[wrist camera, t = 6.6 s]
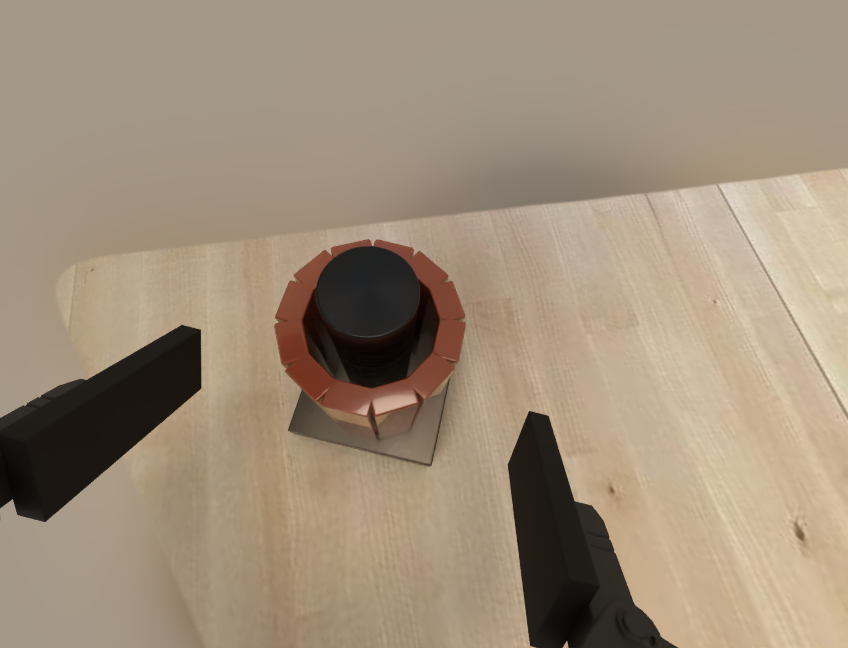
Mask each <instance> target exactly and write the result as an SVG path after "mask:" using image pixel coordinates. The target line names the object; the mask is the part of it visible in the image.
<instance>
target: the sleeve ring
mask: <svg viewBox="0 0 848 648" xmlns="http://www.w3.org/2000/svg"><path fill="white" fill-rule="evenodd" d="M361 246H372V243H371V241H370V240H363V241H359V242H354V243H349V244H345V245H340V246H335V247H332V248H331V253H332V255H330V254H329V253H328V252H327V251H326V250H324V251H323V252H322V253H320V254H319V255H318V256H317V257H315V258H314V259H313V260H312V261H310V262H309V263H308V264H307V265H305V266H304V267H303V268H302V269H300V270H299V271H298V272H297V273H295V274H294V278H295V280H296V282H295V281H289V283H288V286H287V288H286V291H285V293H284V296H283V298H282V301H281V303H280V306H279V308H278V311H277V313H276V316H275V319H276V320H277V321H278V323H277V324H275V325H274V328H275V333H276V338H277V344H278V349H279V354H280V359H281V364H282V365H283V366H284V367H285V368H286V370H285V372H286V373H287V374H288V375H289V376H290V377H291V378H292V379H293V380H294V381H295V382H296V383H297V385H298V386H299V387H300V388H301V389H302V390H303V391H304V392H305V393H306V394H307V395H308V396H309V397H310V398H311V399H312V400H313V401H314V402H315V403H316V404H317V405H318V406H319V407H320V408H321V409H322V410H323V411H324V412H325V413H326V414H327V415H328V416H329V417H330V418H331V419H332V420H333V421H334V422H335V423H336V424H337V425H338V426H339V427H340V428H342V429H343V430H344V431H347V432H348V433H349V434H352V435H356V436H360V437H364V438H368V439H372V440H377V437H378V434H379V436H380V439H381V440H384V439H387V438H390V437H393V436H397V435H400V434H403V433H406V432H408V431H409V428H411V429H413V428H414V427H415V426H416V425H417V424H418V423H419V422H420V421H421V420H422V419H423V417H424V416H425V415H426V414H427V413H428V412H429V411H430V410H431V408H432V407H433V405H434V403H435V402H436V400H437V398H438V397H439V395H440V393H441V391H442V390H443V388H444V386H445V385H446V383H447V381H448V380H449V378H450V376H451V374H452V373H453V371H454V369H455V367H456V365H457V363H458V361H459V357H460V352H461V347H462V342H463V337H464V332H465V327H466V323H465V322H463V321H464V319H465V314H464V311H463V308H462V306H461V303H460V300H459V297H458V295H457V292H456V289H455V286H454V284H453V282H452V281H449V282H447V280H448V277H449V276H448V275H447V274H446V273H445V272H444V271H443V270H441V269H440V268H439V267H438V266H437V265H436V264H434V263H433V262H432V261H431V260H430V259H429V258H427V257H426V256H425V255H424V254H423V253H422V252H420V251H419V252H418V253H417V254H415V255H414V249H413V248H411V247H406V246H402V245H398V244H394V243H390V242H386V241H382V240H376V241H375V243H374V246H376V247H381V248H385V249H388V250H390V251H393V252H395V253H396V254H398V255H400V256H401V257H402V258H403V259H405V260H406V261H407V262H408V263H409V265H410V266H411V267H412V268H413V270H414V272H415V273H416V276H417V278H418V281H419V285H420V300H419V307H418V313H417V319H416V325H415V332H414V338H413V344H412V350H411V352H412V353H413V354H414V355H415V356H416V358H417V362H418V365H419V366H418V367H417V368H416V369H415V370H414V371H413V372H412V373H411V374H410V375H409V376H408V377H407V378H405V379H401V380H398V381H394V382H391V383H387V384H384V385H380V386H377V387H373V388H370V387H366V386H362V385H357V384H353V383H349V382H345V381H341V380H337V379H335V376H336V373H337V370H338V367H339V364H340V358H339V356H338V354H337V351H336V349H335V347H334V345H333V342H332V340H331V338H330V335H329V333H328V331H327V328H326V326H325V324H324V321H323V319H322V317H321V315H320V312H319V310H318V307H317V304H316V285H317V281H318V278H319V276H320V274H321V272H322V271H323V269H324V267H325V266H326V265H327V264H328V263H329V262H330V261H331V260H332V259H333V258H334V257H336V256H337V255H338V254H340V253H342V252H344V251H346V250H349V249H352V248H356V247H361Z"/></svg>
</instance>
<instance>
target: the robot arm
mask: <svg viewBox="0 0 848 648" xmlns="http://www.w3.org/2000/svg"><path fill="white" fill-rule="evenodd" d="M200 389H201V330H200V329H196V328H192V327H188V326H184V325H181V326H179V327H178V328H176V329H174V330H172V331H171V332H169V333H167V334H166V335H164V336H162V337H160V338H159V339H157V340H155V341H153V342H152V343H150V344H148V345H146V346H145V347H143V348H141V349H140V350H138V351H136V352H134V353H133V354H131V355H129V356H127V357H126V358H124V359H122V360H121V361H119V362H117V363H115V364H114V365H112V366H110V367H108V368H107V369H105V370H103V371H102V372H100V373H98V374H96V375H95V376H93V377H91V378H89V379H88V380H84V379H79V380H75V381H72V382H69V383H66V384H63V385H60V386H57V387H56V388H54V389H52V390H50V391H48V392H47V393H45V394H43V395H42V396H41V397H40V398H39V397H38V398H36V399H34V400H32V401H30V402H29V403H27V405H26V406H22V407H20V408H18V409H16V410H14V411H12V412H11V413H9V414H7V415H5V416H3V417H2V418H0V508H1V507H3V506H4V505H5V504H7V503H8V502H9V501H11V500H12V499H13V500H14V504H15V508H16V512H17V515H20V516H23V517H27V518H32V519H35V520H39V521H43V522H46V521H47V520H48V519H49V518H50V517H52V516H53V515H54V514H55V513H56V512H58V511H59V510H60V509H61V508H62V507H63V506H64V505H66V504H67V503H68V502H69V501H70V500H72V499H73V498H74V497H75V496H76V495H77V494H79V493H80V492H81V491H82V490H83V489H84V488H86V487H87V486H88V485H89V484H90V483H91V482H93V481H94V480H95V479H96V478H97V477H98V476H99V475H101V474H102V473H103V472H104V471H105V470H107V469H108V468H109V467H110V466H111V465H112V464H114V463H115V462H116V461H117V460H118V459H119V458H121V457H122V456H123V455H124V454H125V453H126V452H128V451H129V450H130V449H131V448H132V447H133V446H135V445H136V444H137V443H138V442H139V441H140V440H142V439H143V438H144V437H145V436H146V435H147V434H149V433H150V432H151V431H152V430H153V429H154V428H156V427H157V426H158V425H159V424H160V423H162V422H163V421H164V420H165V419H166V418H167V417H169V416H170V415H171V414H172V413H173V412H174V411H176V410H177V409H178V408H179V407H180V406H181V405H183V404H184V403H185V402H186V401H187V400H188V399H190V398H191V397H192V396H193V395H194V394H195V393H197V392H198V391H199V390H200ZM508 471H509V479H510V487H511V495H512V503H513V511H514V519H515V527H516V535H517V544H518V552H519V560H520V568H521V576H522V584H523V592H524V600H525V608H526V616H527V625H528V633H529V641H530V646H532V647H536V648H563V646H564V644H565V643H566V641H567V642H568V647H569V648H678V647H676V646H674V645H673V644H671V643H669V642H668V641H666V640H665V639H663V638H662V637H661V636H660V633H659V631H658V630H657V628H656V626H655V625H654V623H653V622H652V620H651V619H650V618H649V617H648V616H647V615H646V614H645V613H644V612H643V611H642V610H641V609H639V608H638V607H636V606H635V604H634V602H633V600H632V597H631V594H630V591H629V589H628V586H627V583H626V581H625V578H624V575H623V572H622V570H621V567H620V564H619V562H618V559H617V556H616V553H614V548H613V545H612V543H611V540H609V534H608V532H607V529H606V526H605V524H604V521H603V520H602V518H601V517H600V516H599V514H598V513H597V512H596V510H595V509H594V508H593V506H591V505H587V504H583V503H579V502H575V501H574V498H573V495H572V491H571V488H570V485H569V482H568V478H567V475H566V472H565V468H564V465H563V462H562V459H561V455H560V452H559V449H558V445H557V442H556V439H555V436H554V432H553V429H552V426H551V422H550V419H549V416H547V415H543V414H539V413H535V412H531V411H529V413H528V415H527V418H526V420H525V423H524V425H523V428H522V430H521V433H520V435H519V438H518V440H517V443H516V445H515V448H514V450H513V453H512V455H511V458H510V461H509V463H508Z"/></svg>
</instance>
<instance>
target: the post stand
mask: <svg viewBox="0 0 848 648" xmlns="http://www.w3.org/2000/svg"><path fill="white" fill-rule="evenodd" d="M419 300H420V285H419V281H418V278H417V276H416V273H415V272H414V270H413V268H412V267H411V266H410V265H409V263H408V262H407V261H406V260H405V259H403V258H402V257H401V256H400V255H398V254H396V253H395V252H393V251H390V250H388V249H385V248H381V247H376V246H361V247H356V248H352V249H349V250H346V251H344V252H342V253H340V254H338V255H337V256H336V257H334V258H333V259H332V260H331V261H330V262H329V263H328V264H327V265H326V266H325V267H324V269H323V271H322V272H321V274H320V276H319V278H318V281H317V285H316V304H317V307H318V310H319V312H320V315H321V317H322V319H323V321H324V324H325V326H326V328H327V331H328V333H329V335H330V338H331V340H332V342H333V345H334V347H335V349H336V351H337V354H338V356H339V358H340V364H339V367H338V370H337V373H336V376H335V379H337V380H341V381H345V382H349V383H353V384H357V385H362V386H366V387H370V388H373V387H377V386H380V385H384V384H387V383H391V382H394V381H398V380H401V379H405V378H407V377H408V376H409V375H410V374H411V373H412V372H413V371H414V370H415V369H416V368H417V367H418V366H419V365H418V362H417V358H416V356H415V355H414V354H413V353H412V352H411V350H412V344H413V338H414V332H415V325H416V319H417V313H418V307H419ZM449 380H450V378H449ZM449 380H448V381H447V383H446V385H445V386H444V388H443V390H442V391H441V393H440V395H439V397H438V398H437V400H436V402H435V403H434V405H433V407H432V408H431V410H430V411H429V412H428V413H427V414H426V415H425V416H424V417H423V419H422V420H421V421H420V422H419V423H418V424H417V425H416V426H415V427H414V428H413V429H411V428H409V431H408V432H406V433H403V434H400V435H397V436H393V437H390V438H387V439H384V440H381V439H380V436H379V434H378V437H377V440H372V439H368V438H364V437H360V436H356V435H352V434H349V433H348V432H347V431H344V430H343V429H342V428H340V427H339V426H338V425H337V424H336V423H335V422H334V421H333V420H332V419H331V418H330V417H329V416H328V415H327V414H326V413H325V412H324V411H323V410H322V409H321V408H320V407H319V406H318V405H317V404H316V403H315V402H314V401H313V400H312V399H311V398H310V397H309V396H308V395H307V394H306V393H305V392H304V391H303V390H302V391H301V394H300V397H299V400H298V403H297V406H296V409H295V411H294V414H293V417H292V420H291V423H290V426H289V429H288V431H290V432H292V433H294V434H298V435H302V436H306V437H310V438H314V439H318V440H322V441H326V442H330V443H334V444H338V445H342V446H347V447H351V448H355V449H359V450H363V451H367V452H371V453H375V454H379V455H383V456H387V457H391V458H395V459H399V460H403V461H407V462H411V463H416V464H420V465H424V466H431V465H432V461H433V456H434V451H435V447H436V442H437V437H438V432H439V427H440V423H441V418H442V413H443V408H444V403H445V399H446V394H447V389H448V384H449Z"/></svg>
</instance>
